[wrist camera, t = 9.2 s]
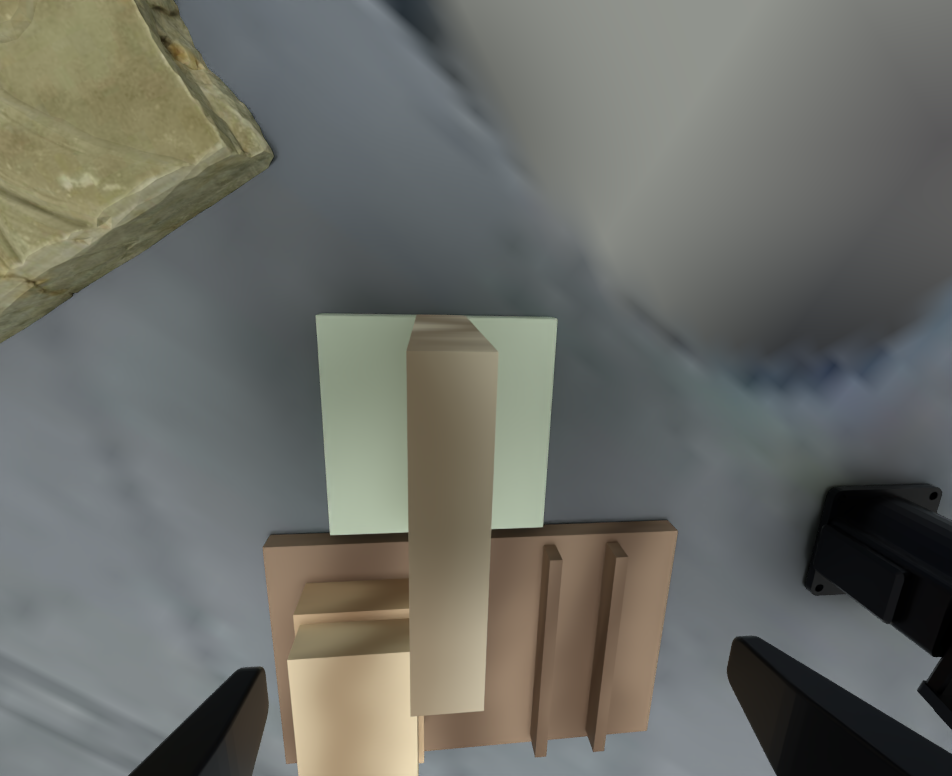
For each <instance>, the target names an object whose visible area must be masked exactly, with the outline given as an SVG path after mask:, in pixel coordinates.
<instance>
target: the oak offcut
mask: <svg viewBox="0 0 952 776" xmlns="http://www.w3.org/2000/svg"><path fill="white" fill-rule="evenodd" d="M404 618H409V578H405V579H385V580H364V581H344V582H324V583H306V584H305V586H304V589H303V591H302V594H301V596H300V599H299V602H298V604H297V607H296V609H295V612H294V614H293V620H294V631H295V637H296V634H297V632H298V629H299V626H300V625H303V624H320V623H337V622H354V621H371V620H388V619H404ZM418 726H419V763H424V716H418Z"/></svg>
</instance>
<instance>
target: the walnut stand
mask: <svg viewBox="0 0 952 776" xmlns="http://www.w3.org/2000/svg"><path fill="white" fill-rule="evenodd" d="M677 534H678V530H677V529H676V528H675V527H674V526H673V525H672V524H671V523H670V522H669V521H668V520H660V521H633V522H606V523H579V524H552V525H543V527H535V528H509V529H491V549H490V573H489V598H488V622H487V646H486V670H485V695H484V711H476V712H464V713H451V714H439V715H426V716H424V751H432V750H442V749H453V748H464V747H475V746H486V745H497V744H508V743H518V742H529V741H532V746H533V750H534V755H535V757H545V756H546V752H547V740H551V739H562V738H573V737H583V736H588V738H589V741H590V744H591V747H592V750H593V752H596V751H604V746H605V739H606V734H616V733H627V732H638V731H647V725H648V719H649V713H650V706H651V700H652V694H653V687H654V681H655V674H656V668H657V662H658V655H659V649H660V642H661V636H662V630H663V623H664V617H665V610H666V604H667V598H668V591H669V585H670V579H671V572H672V566H673V559H674V553H675V547H676V540H677ZM263 556H264V565H265V574H266V583H267V592H268V602H269V611H270V620H271V629H272V638H273V647H274V657H275V666H276V675H277V684H278V693H279V702H280V712H281V721H282V730H283V739H284V748H285V757H286V764H290V763H297V754H296V744H295V734H294V724H293V714H292V704H291V694H290V684H289V674H288V664H287V659H288V656H289V654H290V651H291V648H292V645H293V643H294V640H295V631H294V620H293V614H294V612H295V609H296V607H297V604H298V602H299V599H300V596H301V594H302V591H303V589H304V586H305V584H306V583H324V582H344V581H364V580H385V579H405V578H409V543H408V532H403V533H377V534H350V535H330V533H311V534H284V535H270V536H269V538H268V540H267V541H266V543H265V544H264V546H263Z"/></svg>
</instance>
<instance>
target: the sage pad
mask: <svg viewBox="0 0 952 776" xmlns="http://www.w3.org/2000/svg"><path fill="white" fill-rule="evenodd" d="M466 317H467V318H468V319H469V320H470V321H471V322H472V324H473V325H474V326H475V327H476V328H477V329H478V330H479V331H480V332H481V333H482V334H483V336H484V337H485V338H486V339H487V340H488V341H489V342H490V343H491V344H492V345H493V346H494V347H495V349H496V350H497V351H498V352H499V355H498V379H497V404H496V428H495V452H494V476H493V501H492V525H491V529H509V528H535V527H543V519H544V504H545V490H546V476H547V462H548V448H549V433H550V419H551V405H552V391H553V377H554V362H555V348H556V334H557V320H558V319H556V318H553V317H527V316H466ZM415 318H416V315H400V314H337V313H321V314H318V315H316V328H317V343H318V359H319V374H320V389H321V405H322V420H323V436H324V451H325V466H326V482H327V497H328V512H329V528H330V535H350V534H377V533H403V532H408V456H407V369H406V350H407V347H408V343H409V340H410V336H411V333H412V329H413V325H414V322H415Z"/></svg>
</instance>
